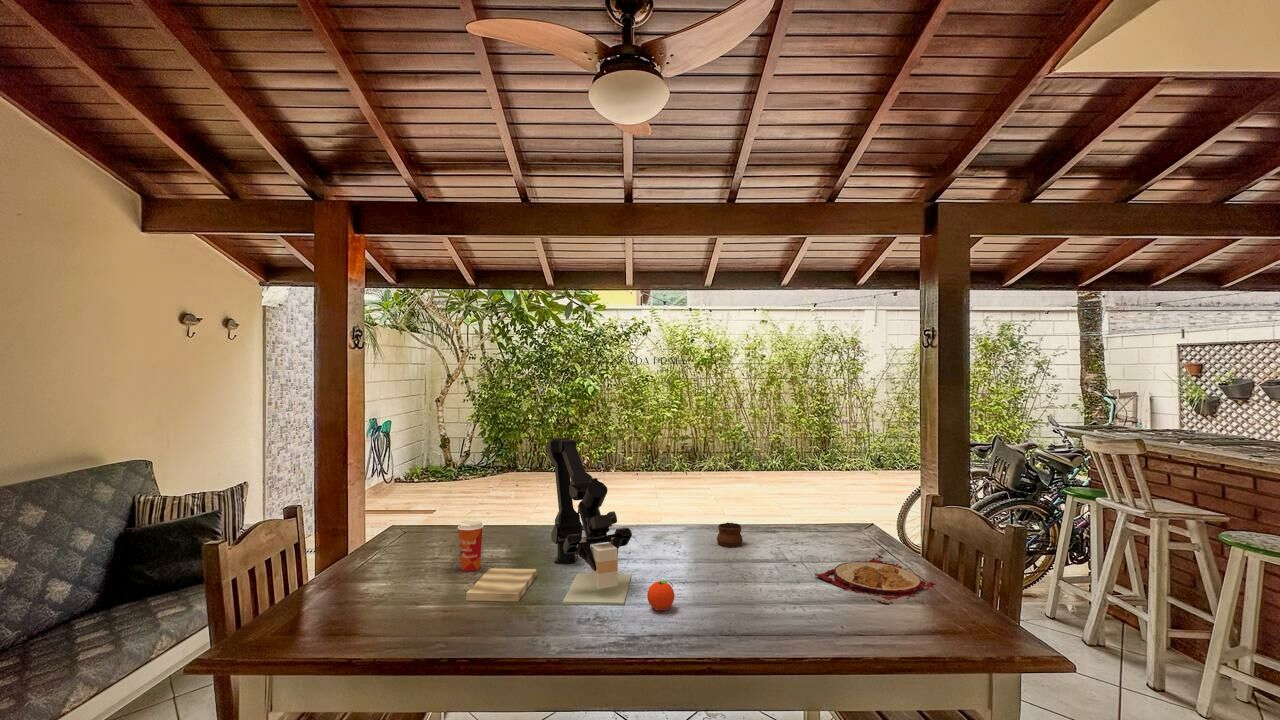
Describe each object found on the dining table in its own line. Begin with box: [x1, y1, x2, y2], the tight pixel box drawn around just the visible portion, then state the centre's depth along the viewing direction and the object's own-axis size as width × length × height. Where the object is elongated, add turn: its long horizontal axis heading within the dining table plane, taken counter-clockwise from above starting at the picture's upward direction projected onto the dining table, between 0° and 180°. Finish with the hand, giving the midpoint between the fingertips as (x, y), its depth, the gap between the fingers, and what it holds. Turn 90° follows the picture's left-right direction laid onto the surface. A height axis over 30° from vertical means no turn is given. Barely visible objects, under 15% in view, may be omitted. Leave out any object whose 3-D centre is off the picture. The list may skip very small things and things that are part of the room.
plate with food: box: [814, 553, 937, 605], centre depth 173 cm, size 25×26×4 cm
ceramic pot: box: [716, 522, 744, 549], centre depth 212 cm, size 18×18×7 cm
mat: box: [562, 572, 632, 606], centre depth 169 cm, size 22×16×1 cm
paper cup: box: [457, 519, 484, 572], centre depth 188 cm, size 8×8×14 cm
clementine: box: [646, 580, 675, 611], centre depth 155 cm, size 8×7×7 cm
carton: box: [590, 542, 619, 589], centre depth 165 cm, size 6×6×10 cm
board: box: [465, 567, 538, 602], centre depth 171 cm, size 20×14×2 cm
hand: (605, 568), depth 164 cm, fingers closed on carton, 6 cm apart
